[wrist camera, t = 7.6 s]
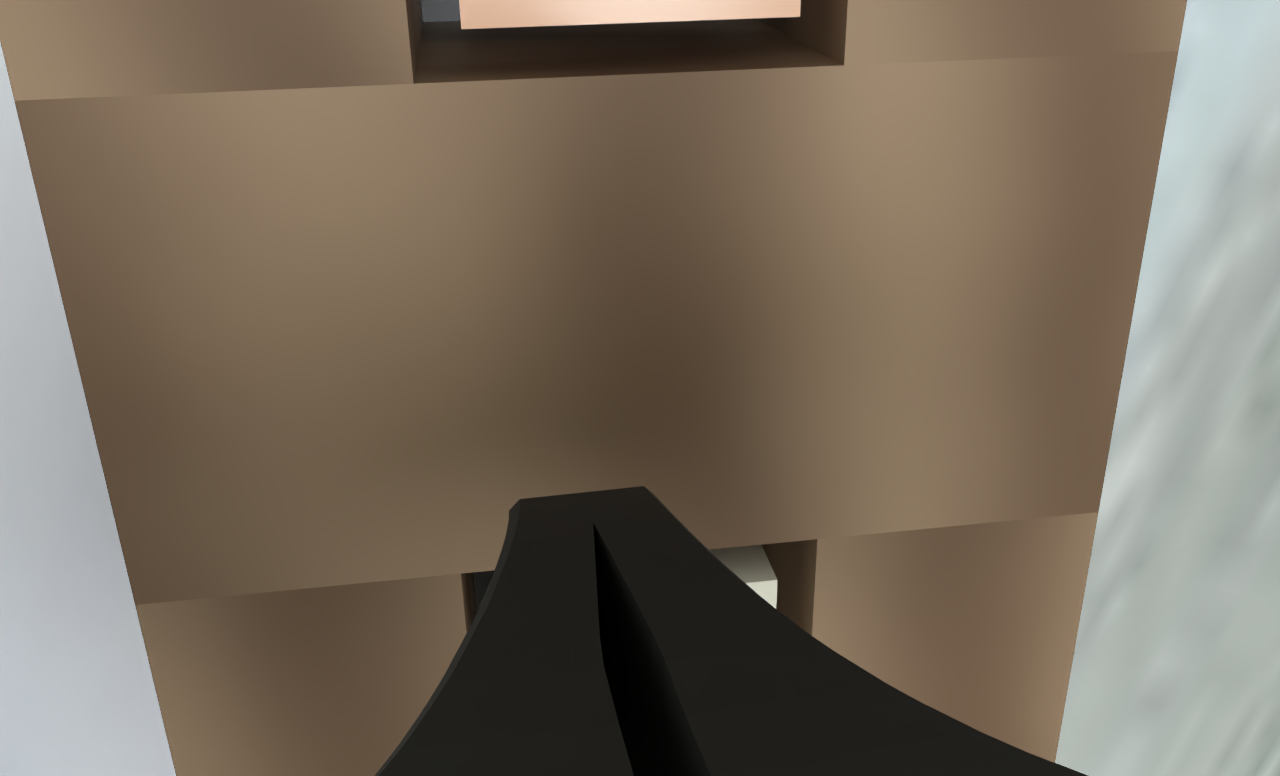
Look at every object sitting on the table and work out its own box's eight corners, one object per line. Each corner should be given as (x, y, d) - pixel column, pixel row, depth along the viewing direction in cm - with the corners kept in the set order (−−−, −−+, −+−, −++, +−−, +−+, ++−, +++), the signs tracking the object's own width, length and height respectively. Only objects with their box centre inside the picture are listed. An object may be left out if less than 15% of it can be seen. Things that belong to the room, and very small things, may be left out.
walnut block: (280, 792, 24) (237, 1031, 19) (-5, -690, 14) (-245, -979, 9) (918, 717, 26) (1027, 918, 21) (1064, -647, 16) (1337, -869, 11)
